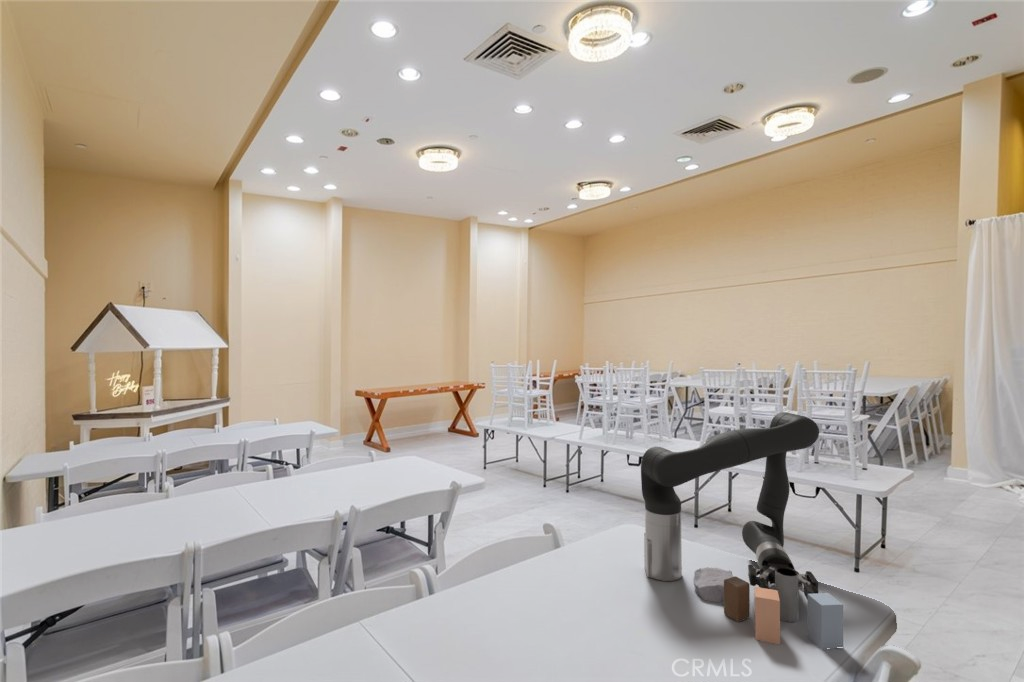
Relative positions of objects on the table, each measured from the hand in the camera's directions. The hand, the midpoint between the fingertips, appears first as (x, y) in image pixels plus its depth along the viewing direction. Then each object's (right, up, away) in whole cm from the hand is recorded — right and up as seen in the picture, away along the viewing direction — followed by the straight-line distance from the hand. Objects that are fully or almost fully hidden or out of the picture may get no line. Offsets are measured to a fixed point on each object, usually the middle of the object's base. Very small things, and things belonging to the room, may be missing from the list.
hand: (788, 594), depth 111 cm
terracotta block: (-7, -6, -5) cm, 11 cm away
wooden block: (-10, -6, +2) cm, 12 cm away
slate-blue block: (+3, -6, -8) cm, 10 cm away
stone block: (-11, -6, +14) cm, 19 cm away
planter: (+1, -6, +2) cm, 6 cm away
